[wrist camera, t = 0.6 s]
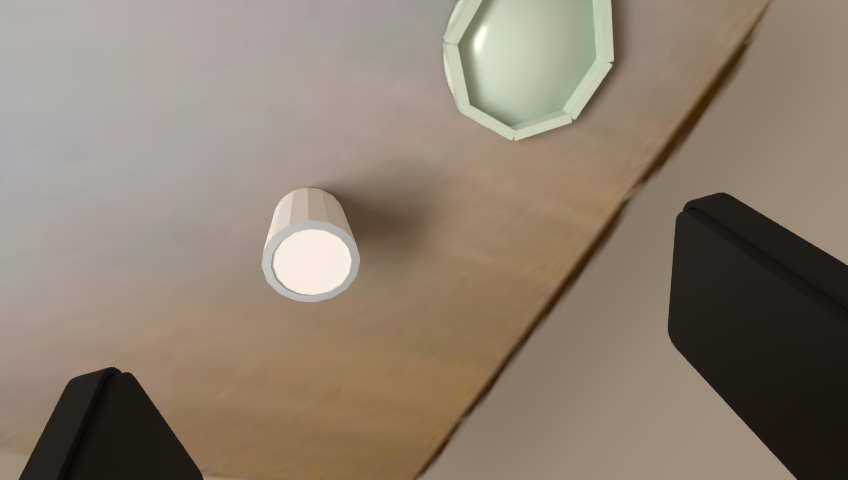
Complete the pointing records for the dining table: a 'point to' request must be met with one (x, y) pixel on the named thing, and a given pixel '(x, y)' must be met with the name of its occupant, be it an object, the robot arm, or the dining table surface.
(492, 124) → the dish
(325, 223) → the white cylinder
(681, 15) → the dining table surface
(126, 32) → the dining table surface
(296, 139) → the dining table surface
